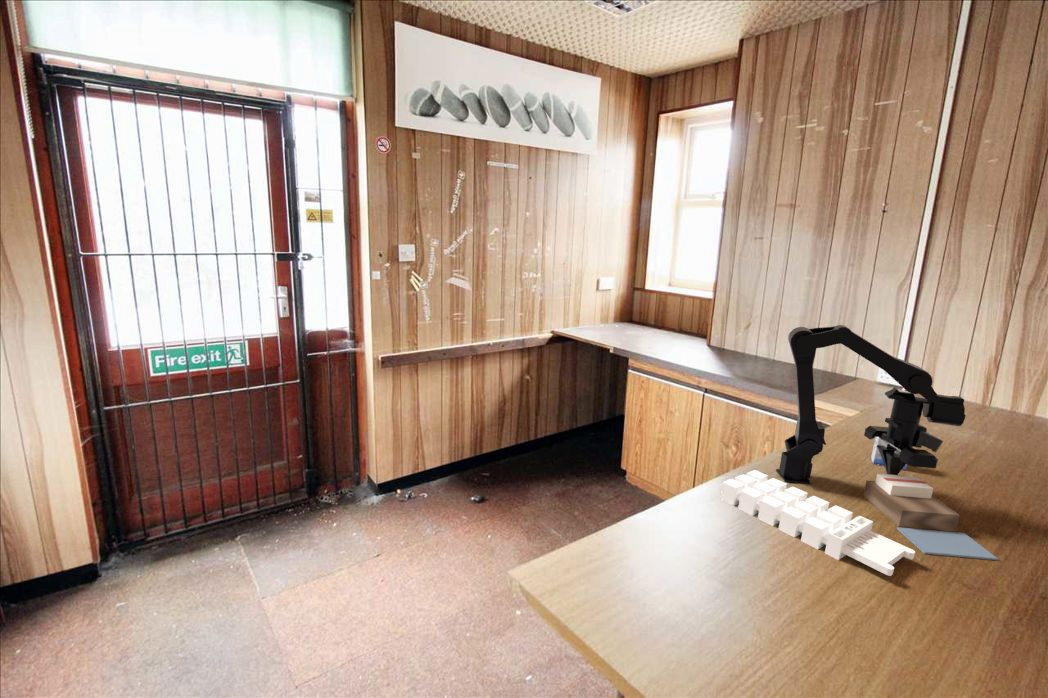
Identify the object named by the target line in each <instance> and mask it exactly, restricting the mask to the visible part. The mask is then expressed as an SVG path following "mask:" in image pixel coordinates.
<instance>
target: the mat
mask: <svg viewBox="0 0 1048 698" xmlns="http://www.w3.org/2000/svg"><path fill="white" fill-rule="evenodd" d="M896 530H897V531H898V532H900V533H901V534H902V535H903V536H904V537H905V538H906V539H907V540H908V541H910V543H911V544H913V545H914V546H915V547H916V548H917V549H918V550H919V551H920V552H921V553H923V554H924V555H934V556H935V555H936V556H943V557H944V556H946V557H957V558H968V559H978V560H991V561H998V560H999V558H998V557H996V555H994V554H992V553H991V552H990V551H989V550H988V549H986V548H985V547H983V546H982V545H981V544H980V543H978V542H977V541H975V540H974V539H973V538H972V537H970V536H969V535H968V534H967V533H965V532H957V531H956V532H953V531H942V530H930V529H919V528H907V527H898V526H897V527H896Z"/></svg>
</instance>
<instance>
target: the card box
mask: <svg viewBox="0 0 1048 698" xmlns="http://www.w3.org/2000/svg"><path fill="white" fill-rule="evenodd" d="M875 481H876V482H875V483H876V484H877V485H878V486H880V487H881V488H882V489H883V490H885V491H886V492H887V493H888V494H889V495H894V496H906V497H918V498H930V499H931V496H932V495H933V492H934V488H933V487H932V486H930V485H929V484H928V483H927V482H925V481H924V480H922V479H920V478H919V477H917V476H915V475H914V476H913V475H911V476H910V475H903V474H900V475H899V474H898V475H890V474H887V473H876V478H875Z"/></svg>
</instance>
